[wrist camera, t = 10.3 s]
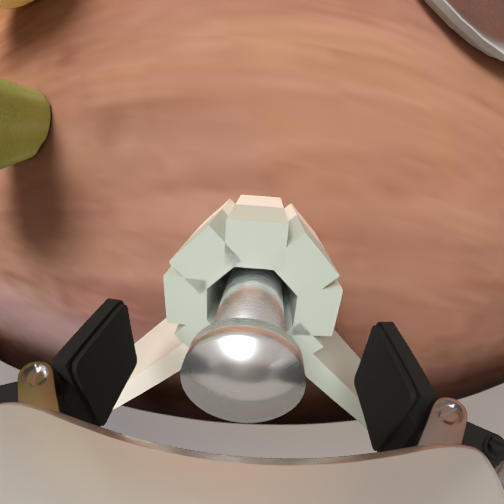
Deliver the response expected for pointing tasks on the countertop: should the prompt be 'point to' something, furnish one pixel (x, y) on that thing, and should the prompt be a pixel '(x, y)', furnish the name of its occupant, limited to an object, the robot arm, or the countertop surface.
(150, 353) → the hinge
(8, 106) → the plant pot
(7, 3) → the sculpture
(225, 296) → the hinge pin
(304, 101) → the countertop surface
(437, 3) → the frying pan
